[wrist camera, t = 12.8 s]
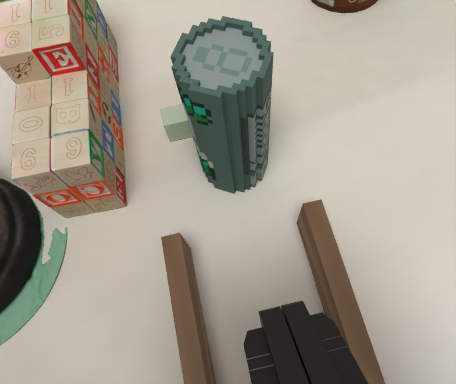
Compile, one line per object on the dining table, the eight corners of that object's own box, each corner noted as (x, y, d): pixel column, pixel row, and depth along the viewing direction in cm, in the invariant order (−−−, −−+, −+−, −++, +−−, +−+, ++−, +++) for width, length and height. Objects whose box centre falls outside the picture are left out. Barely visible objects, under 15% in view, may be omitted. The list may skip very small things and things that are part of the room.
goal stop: (170, 141, 39) (163, 125, 36) (167, 125, 39) (160, 108, 37) (264, 119, 39) (265, 102, 36) (260, 104, 40) (260, 86, 37)
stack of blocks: (129, 207, 36) (71, 144, 25) (65, 220, 36) (-21, 161, 25) (116, 42, 45) (69, -62, 33) (65, 52, 45) (-1, -49, 33)
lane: (220, 524, 26) (212, 561, 22) (174, 252, 34) (161, 237, 30) (398, 479, 27) (428, 507, 22) (312, 219, 34) (321, 199, 30)
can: (216, 130, 39) (194, 10, 25) (273, 145, 38) (282, 28, 24) (195, 182, 37) (157, 81, 23) (254, 199, 36) (253, 105, 22)
